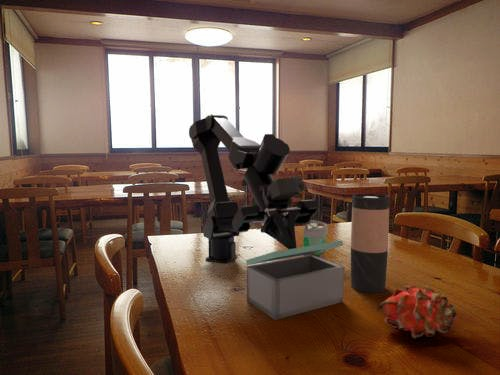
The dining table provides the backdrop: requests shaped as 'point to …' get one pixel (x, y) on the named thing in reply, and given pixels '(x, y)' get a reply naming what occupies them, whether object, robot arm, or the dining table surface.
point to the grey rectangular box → (294, 285)
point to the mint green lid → (293, 252)
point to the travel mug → (369, 242)
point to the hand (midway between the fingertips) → (294, 249)
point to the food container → (315, 236)
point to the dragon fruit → (418, 311)
